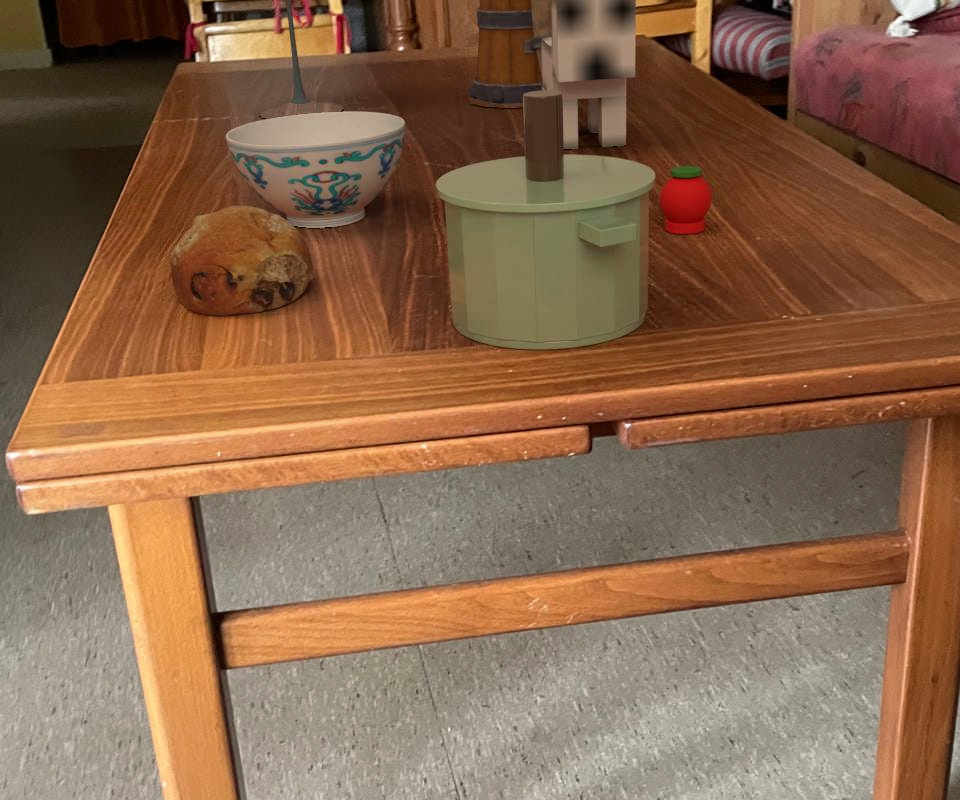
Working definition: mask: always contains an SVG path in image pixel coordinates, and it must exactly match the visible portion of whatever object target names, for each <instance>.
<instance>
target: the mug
mask: <svg viewBox="0 0 960 800" xmlns="http://www.w3.org/2000/svg"><path fill="white" fill-rule="evenodd" d="M476 20H477V21H476V22H477V28H478V47H477V66H476V67H477V69H476V76H474V78H473V79H472V80H473V82H472V85H471V86H470V88H469V90H468V97H469V96H470V97H471V98H474V99H479V100H482V101H485V102H490V104H503V105H520V104H523V94H525V93H527V92H532V91H542V73H541V37H552V30H551V0H479V7H478V8H477V9H476Z"/></svg>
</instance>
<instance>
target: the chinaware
mask: <svg viewBox="0 0 960 800" xmlns="http://www.w3.org/2000/svg"><path fill="white" fill-rule="evenodd" d="M405 133H406V121H405V120H404V119H403V118H402V117H400V116H398V115H394V114H390V113H384V112H374V111H353V110H351V111H349V110H348V111H342V112H321V113H308V114H298V115H290V116H283V117H276V118H270V119H261V120H255V121H252V122H248V123H245V124H242V125H239V126H237V127H235V128H232V129H231V130H229V131H228V132H227V133H226V134H225V141H226V143H227V147H228V149H229V152H230V155H231V157H232V159H233V162H234V164H235V166H236V168H237V170H238V171H239V173H240V175H241V177H242V178H243V179H244V181H245V182H246V184H247V185H248V186H249V188H251V190H252V191H253V192H254V193H255V194H256V195H257V196H258V197H259V198H260V199H261V200H262V201H264V202H266V203H267V204H268V205H269V206H271V207H272V208H274V209H276V210H278V211H280V212H282V213H284V214H285V217H286V218H285V219H286V220H287V221H289V222H290V223H291V224H292V225H294V226H298V227H297V228H299V227H306V228H305V229H308V228H320V229H326V228H325V227H332V228H339V227H343V226H349V225H351V224H354V223H357V222H359V221H361V220H362V219H364V217H365V215H366V214H365V207H366V206H368V204H370V203H371V202H372V201H374V200H375V199H376V198H377V197H378V196H379V195H380V193H381V192H382V191H383V190H384V189H385V187H386V186H387V184H388V183H389V182H390V180H391V179H392V177H393V176H394V173H395V171H396V169H397V166H398V165H399V161H400V158H401V154H402V151H403V146H404V140H405ZM338 226H339V227H338Z"/></svg>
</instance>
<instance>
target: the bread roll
mask: <svg viewBox="0 0 960 800" xmlns="http://www.w3.org/2000/svg"><path fill="white" fill-rule="evenodd" d="M309 249H310V248H309V246H308V244H307V242H306V240H305V238H304V237H303V235H302V233H301V232H300V231H299V230H298V228H297V227H294V226H293V225H292V224H291V223H290V222H289V221H287V218H285V217H282V216H281V215H280V214H277V213H273V212H270V211H268V210H266V209H263V208H260V207H255V206H251V205H232V206H227V207H224V208H221V209H220V210H218V211H215V212H211V213H206V214H200V215H196V216H195V217H194V218H193V220H192V223H191V225H190V227H189V228H188V230H187V231H186V232H185V233H184V234H183V235H182V237H181V238H180V239H179V241H178V242H177V244H176V245H175V246H174V247H173V249H172V250H171V251H170V254H169V257H168V258H169V259H168V261H169V268H170V275H171V280H172V285H173V289H174V291H175V294H176V297H177V299H178V301H179V302H180V304H181V305H183V307H184V308H185V309H186V310H189V311H190V312H193V313H197V314H200V315H208V316H216V317H217V316H218V317H226V316H238V315H239V316H240V315H247V314H255V313H257V314H258V313H262V312H264V311H269V310H276V309H280V308H282V307H284V306H287V305H289V304H291V303H293V302H295V301H297V300H298V299H299V298H300V297H301V296H302V295H303V293H305V292H306V291H307V288H308V286H309V284H310V282H311V281H312V280H313V278H314V271H313V270H314V266H313V262H312V257H311V253H310V250H309Z"/></svg>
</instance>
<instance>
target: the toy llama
mask: <svg viewBox="0 0 960 800" xmlns="http://www.w3.org/2000/svg"><path fill="white" fill-rule="evenodd" d="M636 5H637V0H551V30H552V37H541V73H542V91H543V90H552V91H560V92H562V94H563V138H564V149H572V150H579V113H578V112H579V104H578V100H585V99H586V100H587V130H588V129H589V131H590V132H591V133H593V132H598V134H597V139H598V141H597V142H599V143H598V144H599V146H600V145H601V146H602V147H601V146H600V147H601V148H614V147H613V146H617V147H625V146H624V145H626V146H627V79H629V78H630V79H631V78H636V38H637V37H636V33H637V31H636V28H637V27H636V25H637V24H636V23H637V21H636V19H637V16H636V15H637V14H636V10H637V6H636ZM589 131H588V132H589ZM590 132H589V133H590ZM591 133H590V134H591Z"/></svg>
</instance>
